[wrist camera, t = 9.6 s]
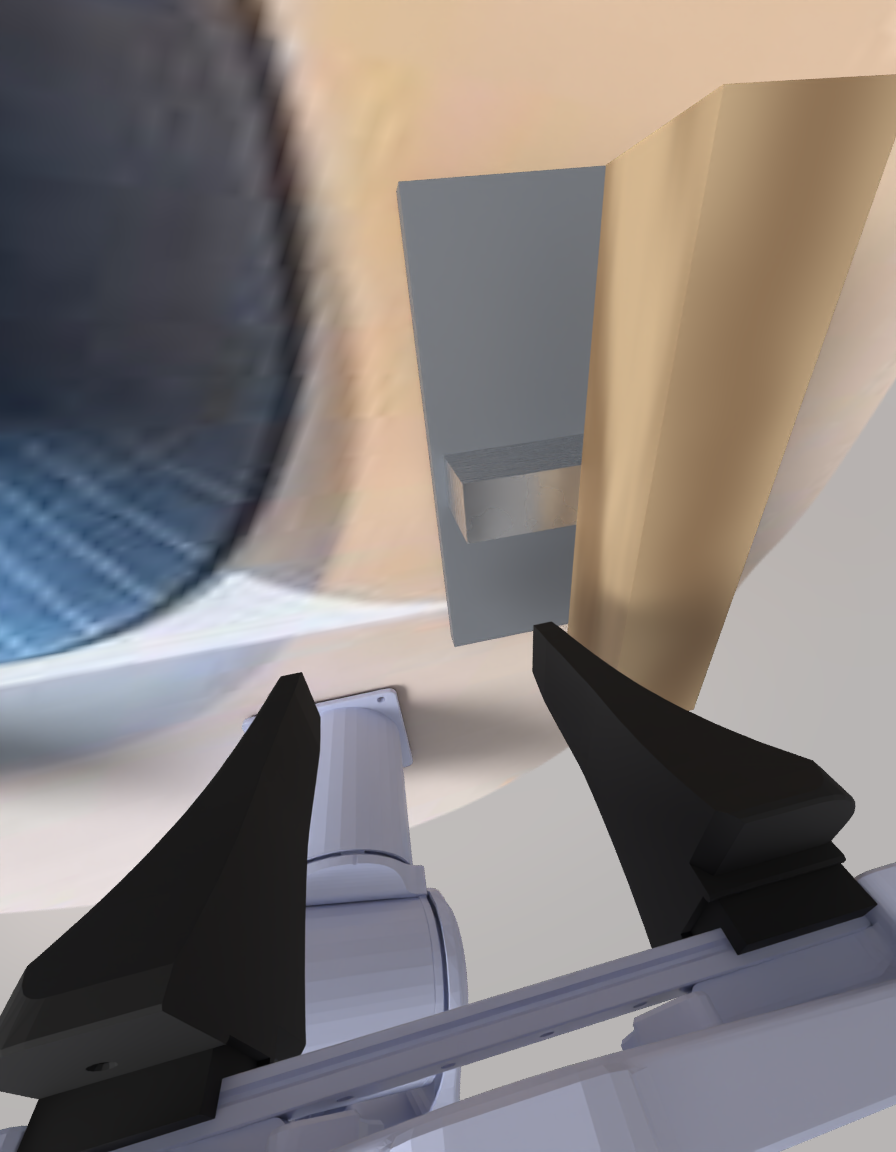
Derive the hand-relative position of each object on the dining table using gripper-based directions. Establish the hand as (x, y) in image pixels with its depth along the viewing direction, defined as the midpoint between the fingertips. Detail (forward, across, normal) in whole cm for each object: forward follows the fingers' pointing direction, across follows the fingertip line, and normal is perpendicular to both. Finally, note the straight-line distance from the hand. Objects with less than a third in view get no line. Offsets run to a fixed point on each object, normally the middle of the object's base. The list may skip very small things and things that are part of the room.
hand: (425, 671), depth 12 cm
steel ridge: (+9, -9, -3) cm, 13 cm away
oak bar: (+4, -9, -3) cm, 10 cm away
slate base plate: (+9, -9, -3) cm, 13 cm away
